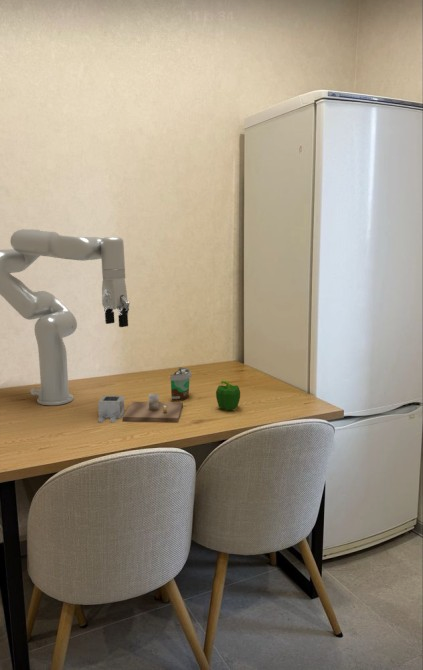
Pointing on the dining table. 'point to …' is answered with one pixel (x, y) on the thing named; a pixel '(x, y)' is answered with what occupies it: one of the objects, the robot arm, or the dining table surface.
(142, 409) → the post board
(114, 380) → the dining table surface
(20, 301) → the robot arm
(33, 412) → the dining table surface
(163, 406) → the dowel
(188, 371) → the food container
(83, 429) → the dining table surface
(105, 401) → the bracket
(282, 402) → the dining table surface
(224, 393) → the bell pepper
